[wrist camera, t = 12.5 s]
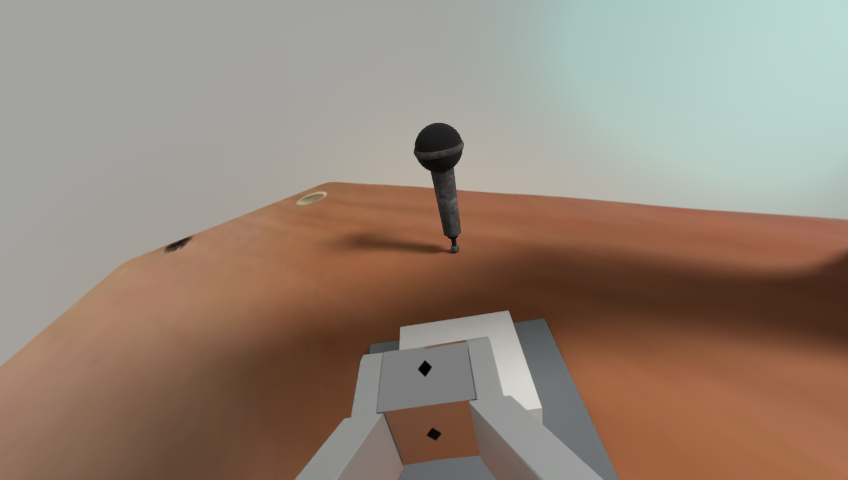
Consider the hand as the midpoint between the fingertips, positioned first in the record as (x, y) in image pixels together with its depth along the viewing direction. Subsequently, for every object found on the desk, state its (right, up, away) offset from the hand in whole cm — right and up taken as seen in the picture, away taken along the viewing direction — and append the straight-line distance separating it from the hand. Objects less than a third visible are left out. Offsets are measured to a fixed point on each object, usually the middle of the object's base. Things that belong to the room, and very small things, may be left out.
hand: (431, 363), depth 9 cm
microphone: (+5, +1, +49) cm, 50 cm away
